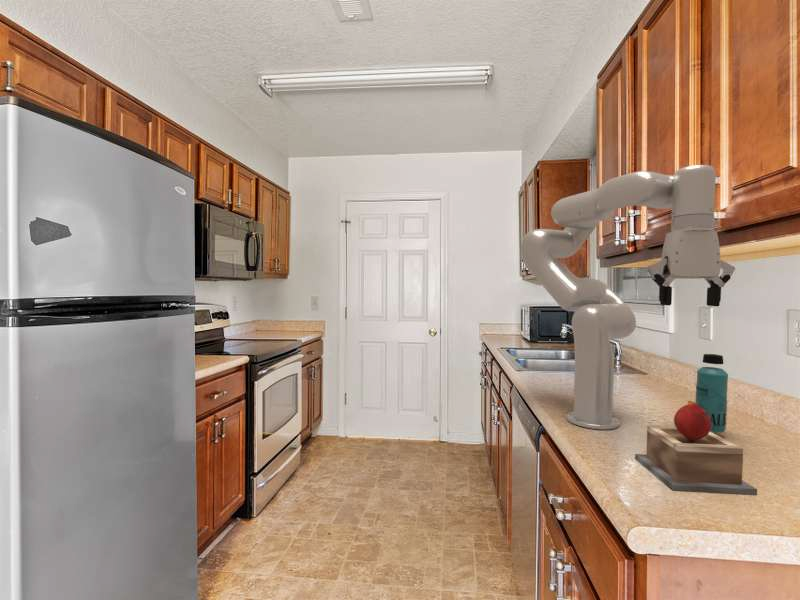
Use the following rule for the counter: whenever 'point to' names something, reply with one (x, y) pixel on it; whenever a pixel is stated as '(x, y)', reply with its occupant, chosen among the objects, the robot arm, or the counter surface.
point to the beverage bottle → (713, 392)
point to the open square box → (694, 462)
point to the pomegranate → (692, 421)
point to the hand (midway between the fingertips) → (689, 305)
